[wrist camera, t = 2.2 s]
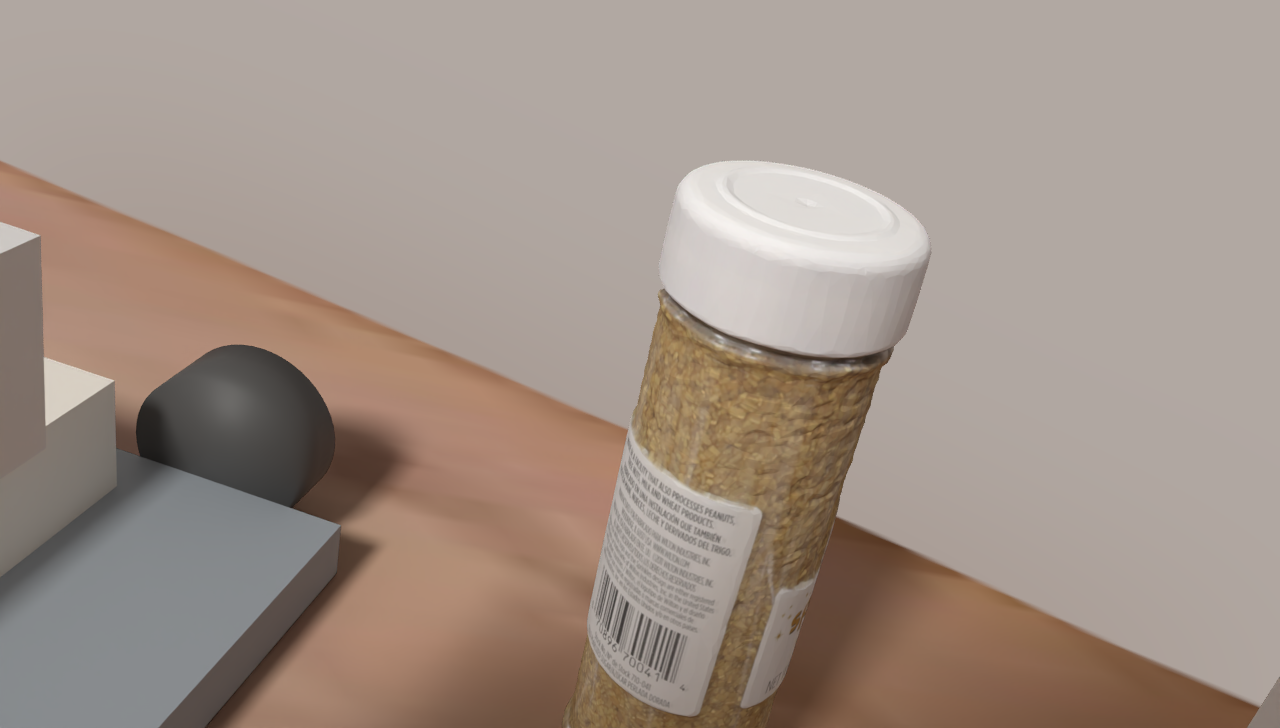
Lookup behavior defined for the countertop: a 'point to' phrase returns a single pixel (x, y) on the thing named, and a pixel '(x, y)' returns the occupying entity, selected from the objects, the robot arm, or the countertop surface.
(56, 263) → the countertop surface
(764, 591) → the spice jar
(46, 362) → the toy chassis
